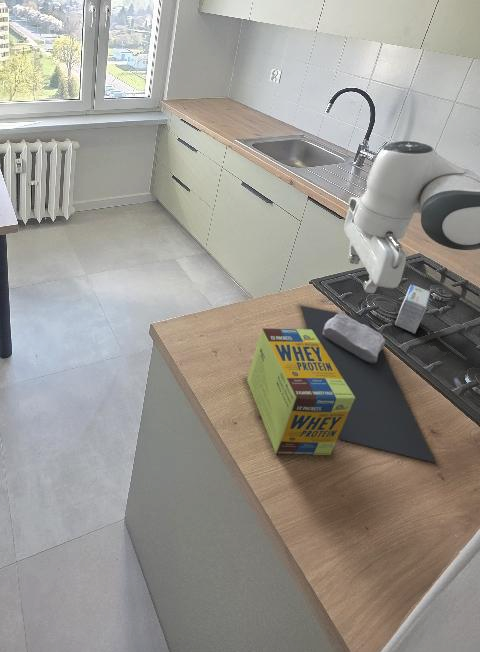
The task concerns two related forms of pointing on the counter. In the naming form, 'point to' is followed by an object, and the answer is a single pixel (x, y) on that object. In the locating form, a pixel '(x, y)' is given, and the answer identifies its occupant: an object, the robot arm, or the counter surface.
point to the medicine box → (413, 308)
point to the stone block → (354, 337)
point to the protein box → (298, 392)
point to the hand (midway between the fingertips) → (360, 275)
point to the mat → (371, 397)
